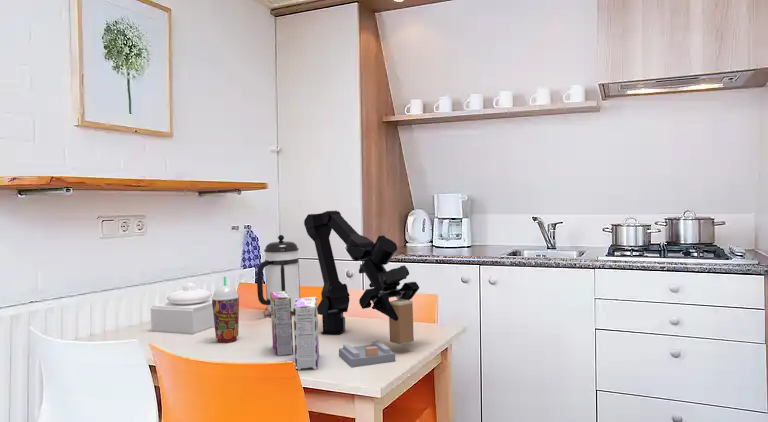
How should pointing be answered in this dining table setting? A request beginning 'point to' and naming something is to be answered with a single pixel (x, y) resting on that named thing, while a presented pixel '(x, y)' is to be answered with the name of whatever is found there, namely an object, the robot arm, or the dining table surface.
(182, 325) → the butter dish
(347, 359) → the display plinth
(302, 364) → the candy box
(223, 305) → the smoothie
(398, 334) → the cream-topped square box
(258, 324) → the dining table surface
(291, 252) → the coffee press
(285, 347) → the candy bar box
